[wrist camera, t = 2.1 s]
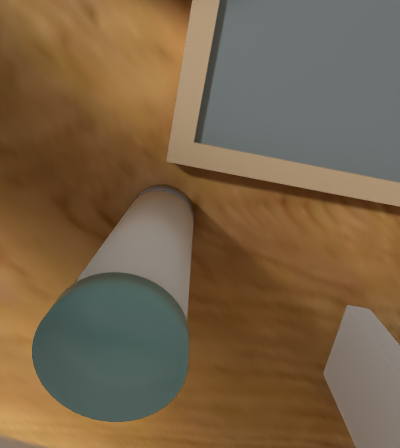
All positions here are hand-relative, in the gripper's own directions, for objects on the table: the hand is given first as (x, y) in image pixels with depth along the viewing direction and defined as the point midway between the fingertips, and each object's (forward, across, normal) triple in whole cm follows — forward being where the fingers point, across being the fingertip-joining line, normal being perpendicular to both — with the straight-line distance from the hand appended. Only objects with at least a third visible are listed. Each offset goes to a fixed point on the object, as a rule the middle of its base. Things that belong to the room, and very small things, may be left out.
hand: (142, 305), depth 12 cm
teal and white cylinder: (+10, 0, 0) cm, 10 cm away
